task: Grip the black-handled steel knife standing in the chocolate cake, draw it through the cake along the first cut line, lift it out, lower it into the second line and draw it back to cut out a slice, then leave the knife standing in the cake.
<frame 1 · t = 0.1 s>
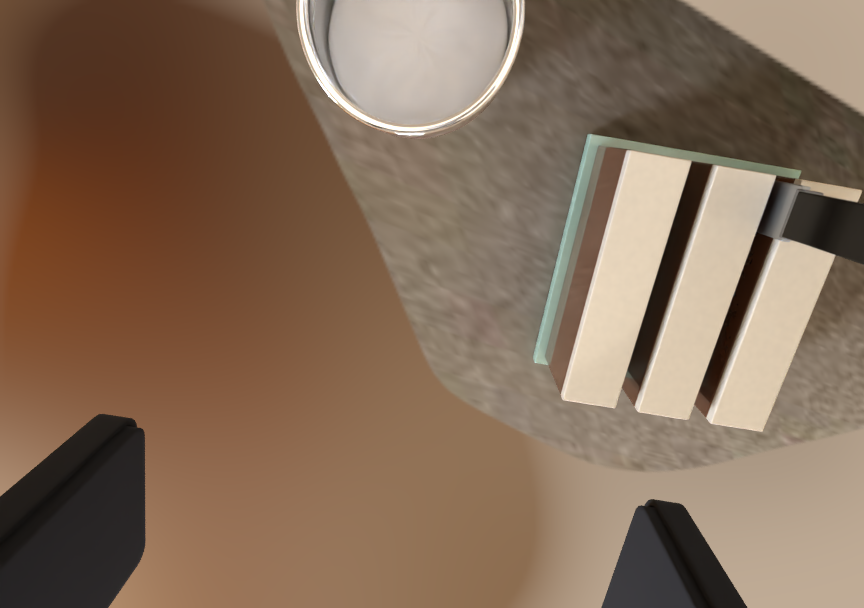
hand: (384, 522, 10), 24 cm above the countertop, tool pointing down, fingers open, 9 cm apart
beer glass: (427, 66, 30), on the countertop
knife: (720, 194, 31), point 1 cm above the countertop, touching cake
cake: (655, 269, 33), on the countertop
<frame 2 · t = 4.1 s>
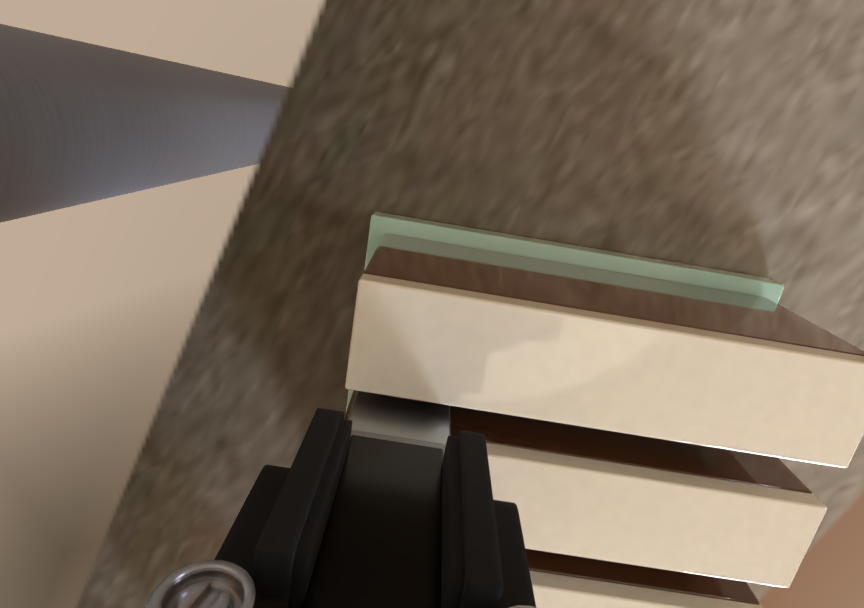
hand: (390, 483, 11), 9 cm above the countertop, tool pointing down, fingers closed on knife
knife: (412, 336, 19), point 1 cm above the countertop, touching cake, gripper
cake: (536, 398, 21), on the countertop
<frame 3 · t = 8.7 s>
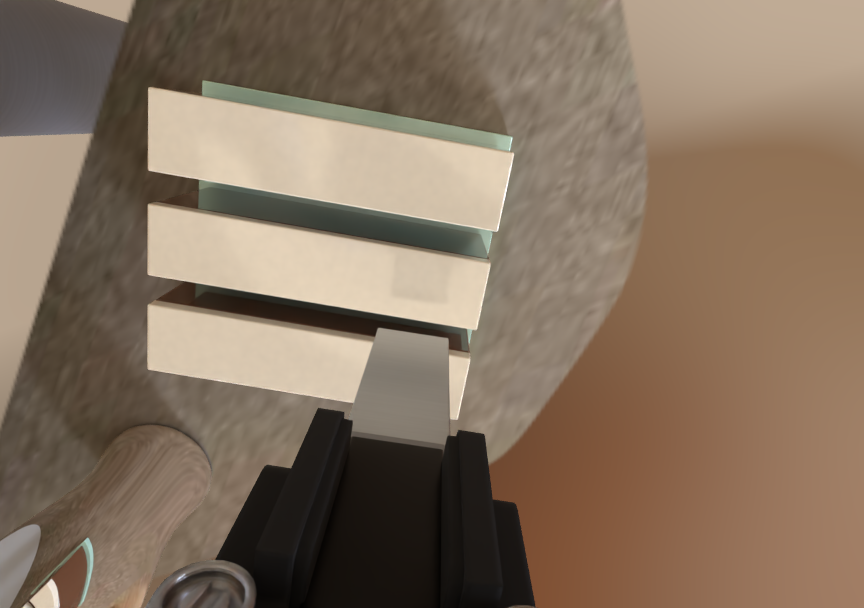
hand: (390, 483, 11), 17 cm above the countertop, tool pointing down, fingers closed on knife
beer glass: (162, 467, 32), on the countertop
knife: (412, 337, 19), point 9 cm above the countertop, touching gripper
cake: (345, 235, 27), on the countertop
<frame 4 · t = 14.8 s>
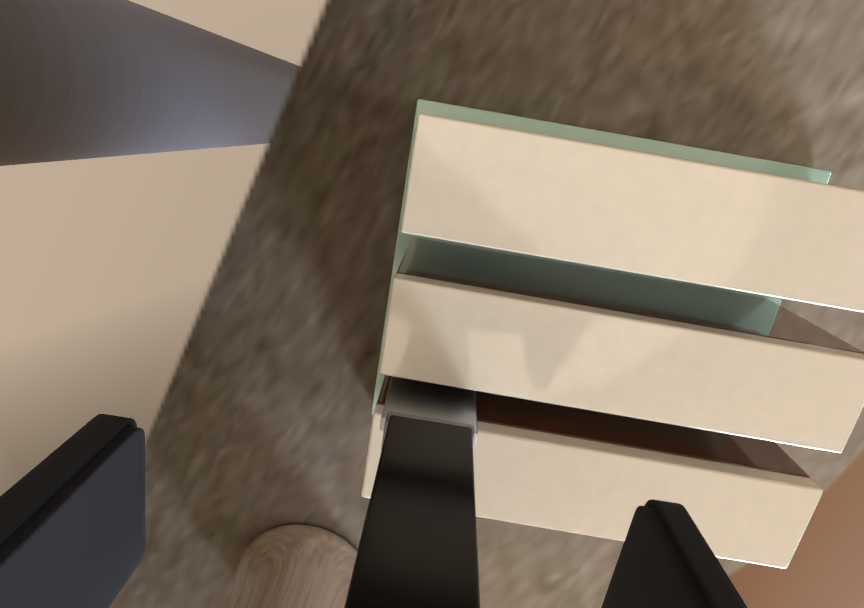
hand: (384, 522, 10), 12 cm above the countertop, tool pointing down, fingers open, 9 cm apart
beer glass: (306, 572, 26), on the countertop
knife: (438, 332, 20), point 1 cm above the countertop, touching cake
cake: (576, 297, 21), on the countertop
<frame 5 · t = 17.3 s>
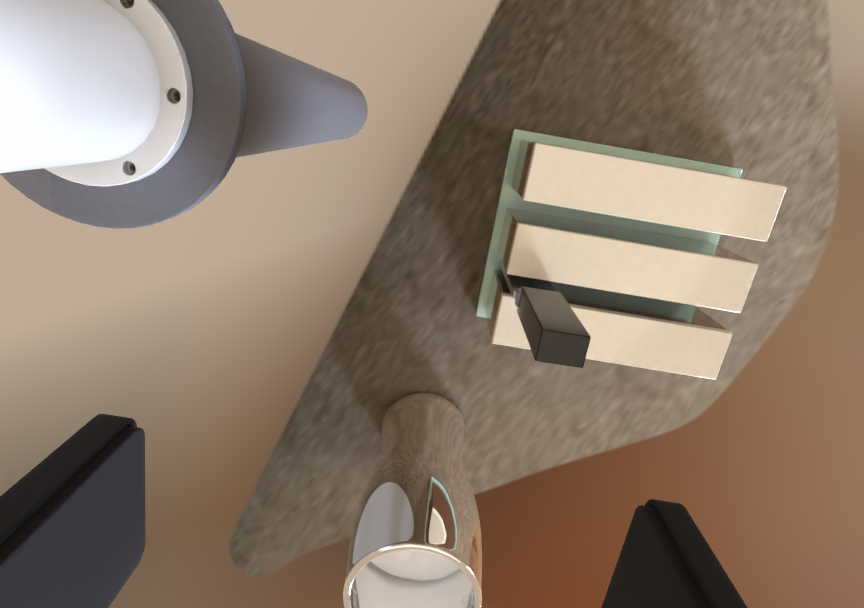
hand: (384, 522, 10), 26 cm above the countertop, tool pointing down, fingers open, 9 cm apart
beer glass: (423, 427, 40), on the countertop
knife: (519, 264, 35), point 1 cm above the countertop, touching cake
cake: (599, 243, 35), on the countertop
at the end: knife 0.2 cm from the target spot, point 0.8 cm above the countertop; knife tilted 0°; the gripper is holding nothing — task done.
